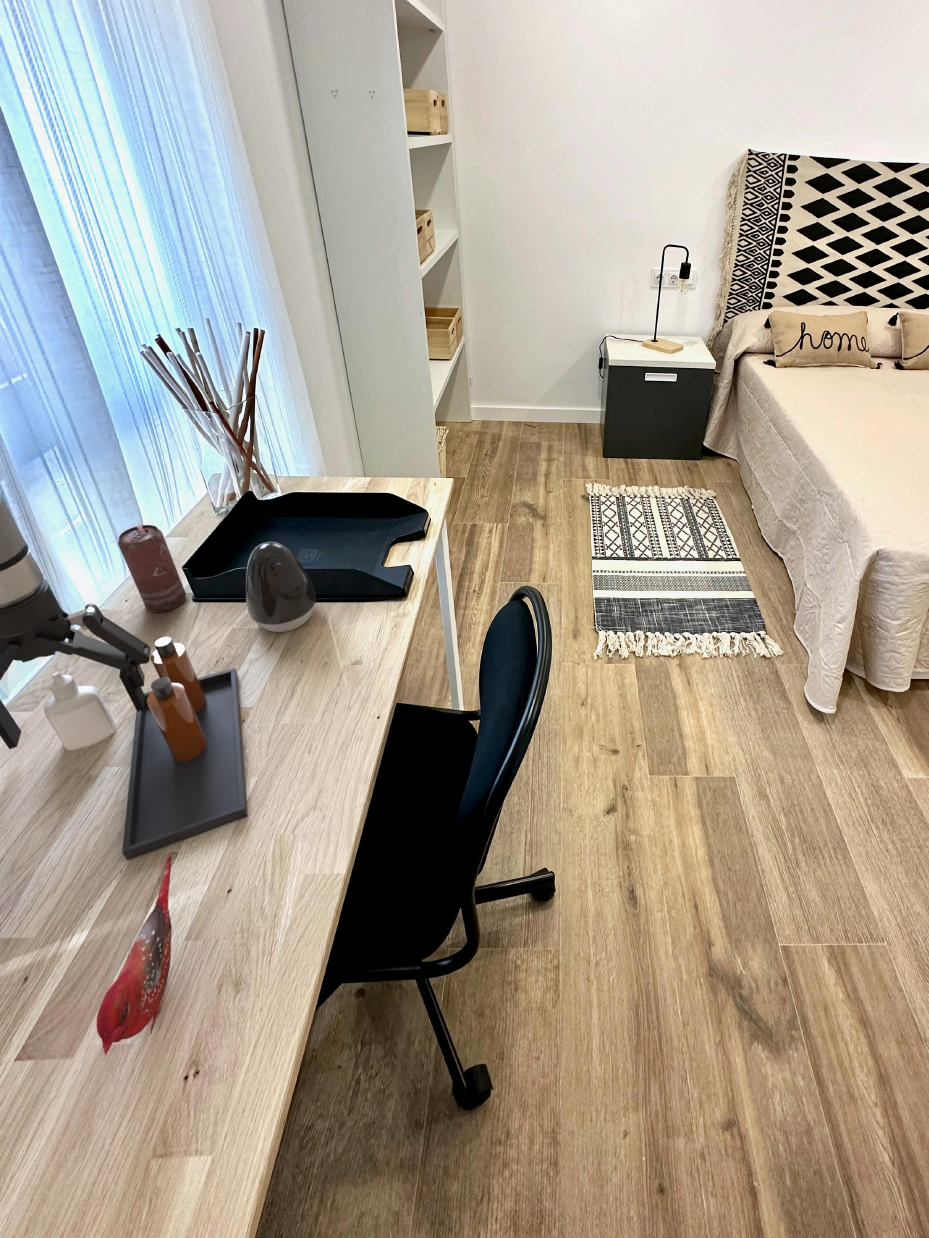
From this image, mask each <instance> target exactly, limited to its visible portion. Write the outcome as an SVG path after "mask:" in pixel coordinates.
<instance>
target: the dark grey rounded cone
mask: <svg viewBox="0 0 929 1238" xmlns="http://www.w3.org/2000/svg"><path fill="white" fill-rule="evenodd" d="M247 560H248V561H247V565H246V569H245V583H244V585H245V586H244V589H245V590H244V591H245V592H244V593H245V602H246V609H247V612H248V615H249V617H250V618H251V619H252V620H253V621H254V622H255V623H256V625H258V626H260V627H261V628H262V629H264V630H266V631H268V632H273V633H285V632H290V631H293V630H295V629H297V628H300V627H301V626H302V625H304V624H305V623H306V622H307V621H308V620H309V619H310V618H311V616H312V614H313V613H314V609H315V606H316V605H315V604H316V601H317V593H316V590H315V588H314V585H313V583H312V580H311V578H310V576H309V574H308V573H307V570H305V568H304V566H303V565H302V563H301V562H300V561H299V559H298V558H297V556H296V555H295V554H294V553H293V552H292V551H291V550H290V549H289V548H288V547H287V546H285V545H284V544H282V543H279V542H276V541H266V542H265V541H264V542H263V543H260V544H258V545H257V546H256V547H254V548H253V550H252V552H251V553H250V555H249V557H248V559H247Z"/></svg>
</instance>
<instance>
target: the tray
mask: <svg viewBox="0 0 929 1238" xmlns="http://www.w3.org/2000/svg"><path fill="white" fill-rule="evenodd" d="M198 680H199V682H200V685H201V687H202V690H203V692H204V695H205V697H206V700H207V701H206V705H205V706H204V708H203V709H202V710H200V711H199V712H198V713H196V716H197V719H198V721H199V723H200V726H201V728H202V730H203V733H204V735H205V737H206V740H207V747H206V749H205V750H204V751H203V753H202V754H200V755H199V756H198V757H196V758H194V759H192V760H189V761H178V760H176V759H174V757H173V755H172V753H171V751H170V749H169V747H168V745H167V743H166V741H165V739H164V737H163V735H162V733H161V731H160V729H159V727H158V724H157V722H156V720H155V718H154V716H153V714H152V712H151V710H150V708H149V706H148V704H147V698H148V696H149V694H150V693H151V692H152V691H153V690H150V691H147V692H143V693H144V695H145V703H144V710H142V711H138V712H137V711H136V712H135V722H134V732H133V743H132V753H131V763H130V772H129V773H130V774H129V783H128V793H127V803H126V810H125V812H126V813H125V820H124V821H125V822H124V832H123V843H122V852H121V853H122V855H123V857H124V858H125V859H126V861H130V860H133V859H136V858H138V857H141V856H144V855H147V854H149V853H153V852H155V851H157V850H161V849H163V848H166V847H168V846H172V845H174V844H176V843H180V842H183V841H185V840H187V839H190V838H194V837H195V836H198V835H202V834H204V833H207V832H209V831H212V830H215V829H218V828H220V827H223V826H226V825H229V824H231V823H234V822H236V821H239V820H242V819H245V818H248V817H249V813H248V812H249V811H248V799H247V785H246V772H245V758H244V744H243V742H244V741H243V730H242V718H241V717H242V716H241V704H240V703H241V702H240V689H239V676H238V672H237V670H236V667H233V668H230V669H226V670H221V671H219V672H215V673H211V674H207V675H204V676H201V677H198Z"/></svg>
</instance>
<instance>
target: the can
mask: <svg viewBox="0 0 929 1238" xmlns="http://www.w3.org/2000/svg"><path fill="white" fill-rule="evenodd" d="M117 539H118V541H117V545H118V548H119V550H120V552H121V554H122V557H123V559H124V560H125V563H126V567H127V568H128V570H129V572H130V575H131V577H132V580H133V582H134V584H135V586H136V590H137V591H138V594H139V595H140V596H139V597H140V598H141V600H142V602H143V605H144V607H145V609H147V610H149V611H150V612H152V613H164V611H165V612H169V611H172V610H174V609H176V608H177V607H179V606H181V604H183V603H184V601H185V599H186V596H187V595H186V594H187V593H186V591H185V588H184V585H183V583H182V580H181V577H180V574H179V572H178V570H177V567H176V564H175V562H174V560H173V557H172V555H171V551H170V549H169V546H168V544H167V541H166V539H165V536H164V533H163V532H162V530H160V529H159V528H158V527H157V526H155V525H153V524H139V525H137V526H133V527H131V528H129V529H126V530H124V531H123V532H122V533H120V534H119V536H118V538H117Z"/></svg>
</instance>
